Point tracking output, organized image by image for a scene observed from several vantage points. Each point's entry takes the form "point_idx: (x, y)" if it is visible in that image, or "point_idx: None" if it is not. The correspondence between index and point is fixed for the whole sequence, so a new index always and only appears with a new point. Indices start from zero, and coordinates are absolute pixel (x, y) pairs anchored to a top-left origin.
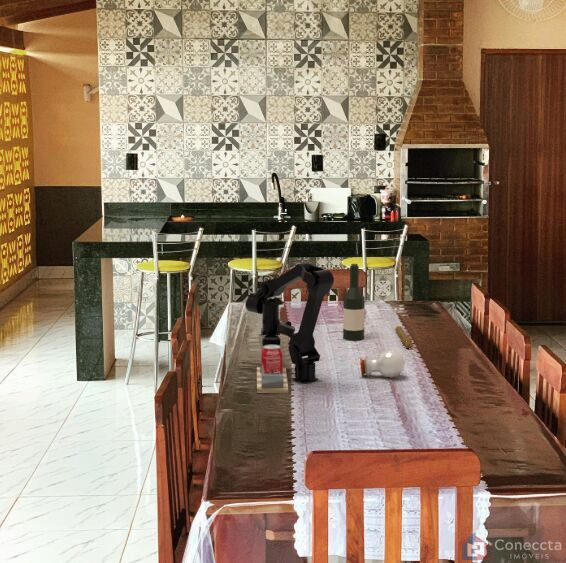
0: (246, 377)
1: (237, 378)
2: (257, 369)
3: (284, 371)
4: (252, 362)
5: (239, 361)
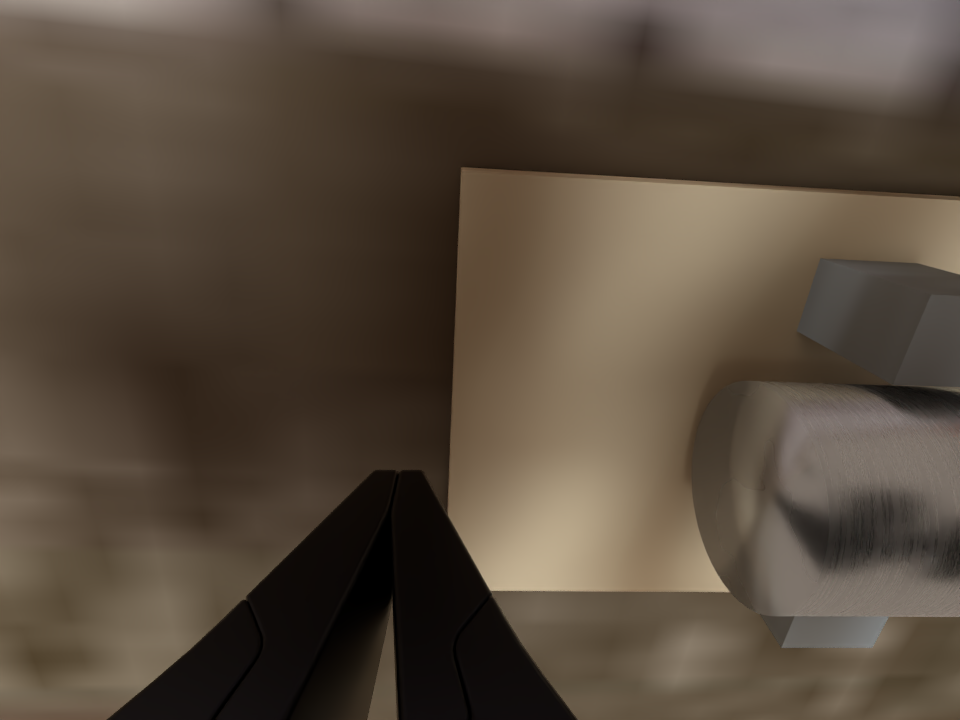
0: (699, 633)
1: (712, 695)
2: (585, 584)
3: (811, 223)
4: (13, 582)
5: (5, 693)
